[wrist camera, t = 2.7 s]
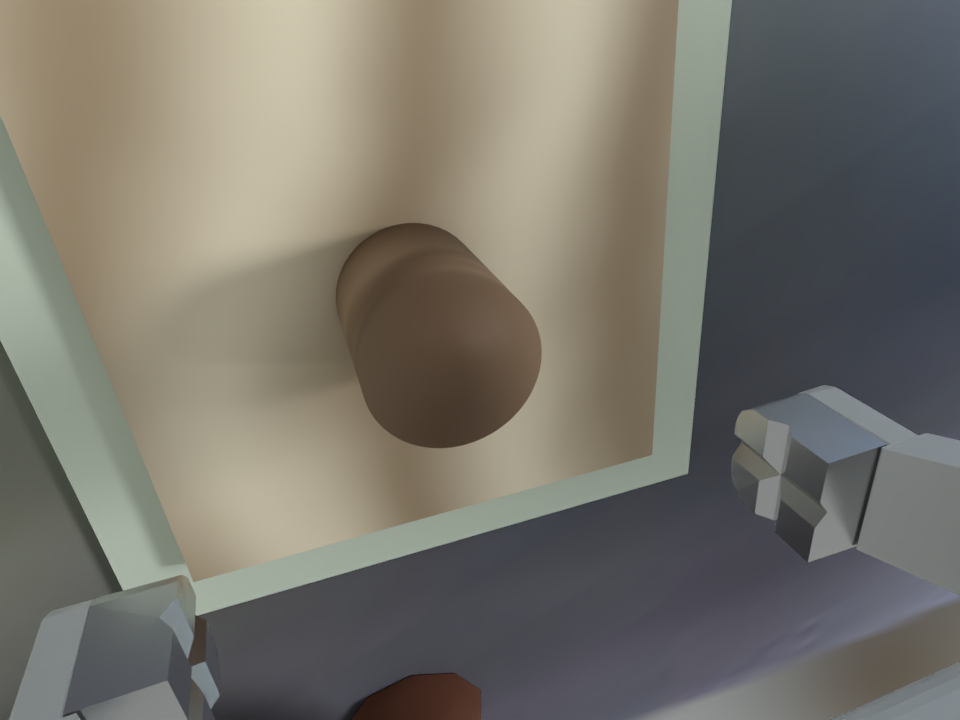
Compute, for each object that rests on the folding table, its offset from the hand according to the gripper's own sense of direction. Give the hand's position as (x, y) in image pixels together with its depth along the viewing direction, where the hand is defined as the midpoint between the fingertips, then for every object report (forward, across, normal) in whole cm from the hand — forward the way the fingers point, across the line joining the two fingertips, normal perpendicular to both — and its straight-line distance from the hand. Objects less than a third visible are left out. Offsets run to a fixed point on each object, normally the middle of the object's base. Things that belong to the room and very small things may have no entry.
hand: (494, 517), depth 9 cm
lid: (+9, -1, 0) cm, 9 cm away
